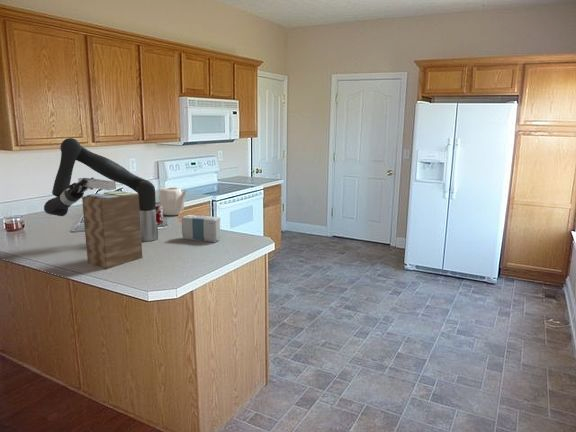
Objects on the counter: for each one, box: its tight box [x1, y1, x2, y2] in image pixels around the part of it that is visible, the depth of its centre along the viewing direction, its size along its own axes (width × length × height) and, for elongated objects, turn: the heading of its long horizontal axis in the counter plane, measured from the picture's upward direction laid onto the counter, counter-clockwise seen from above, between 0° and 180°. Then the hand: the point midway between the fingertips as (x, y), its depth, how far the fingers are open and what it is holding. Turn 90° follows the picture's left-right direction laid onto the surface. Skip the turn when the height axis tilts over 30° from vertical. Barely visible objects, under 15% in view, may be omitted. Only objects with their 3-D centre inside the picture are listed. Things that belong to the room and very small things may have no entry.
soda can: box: [155, 203, 164, 225], centre depth 287 cm, size 7×7×12 cm
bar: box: [77, 177, 117, 191], centre depth 202 cm, size 22×4×4 cm, turn 59°
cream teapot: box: [158, 186, 188, 216], centre depth 314 cm, size 16×27×19 cm, turn 59°
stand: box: [81, 190, 143, 270], centre depth 209 cm, size 14×20×32 cm
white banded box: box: [181, 205, 221, 242], centre depth 249 cm, size 21×8×20 cm, turn 73°
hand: (89, 179), depth 204 cm, fingers closed on bar, 3 cm apart
